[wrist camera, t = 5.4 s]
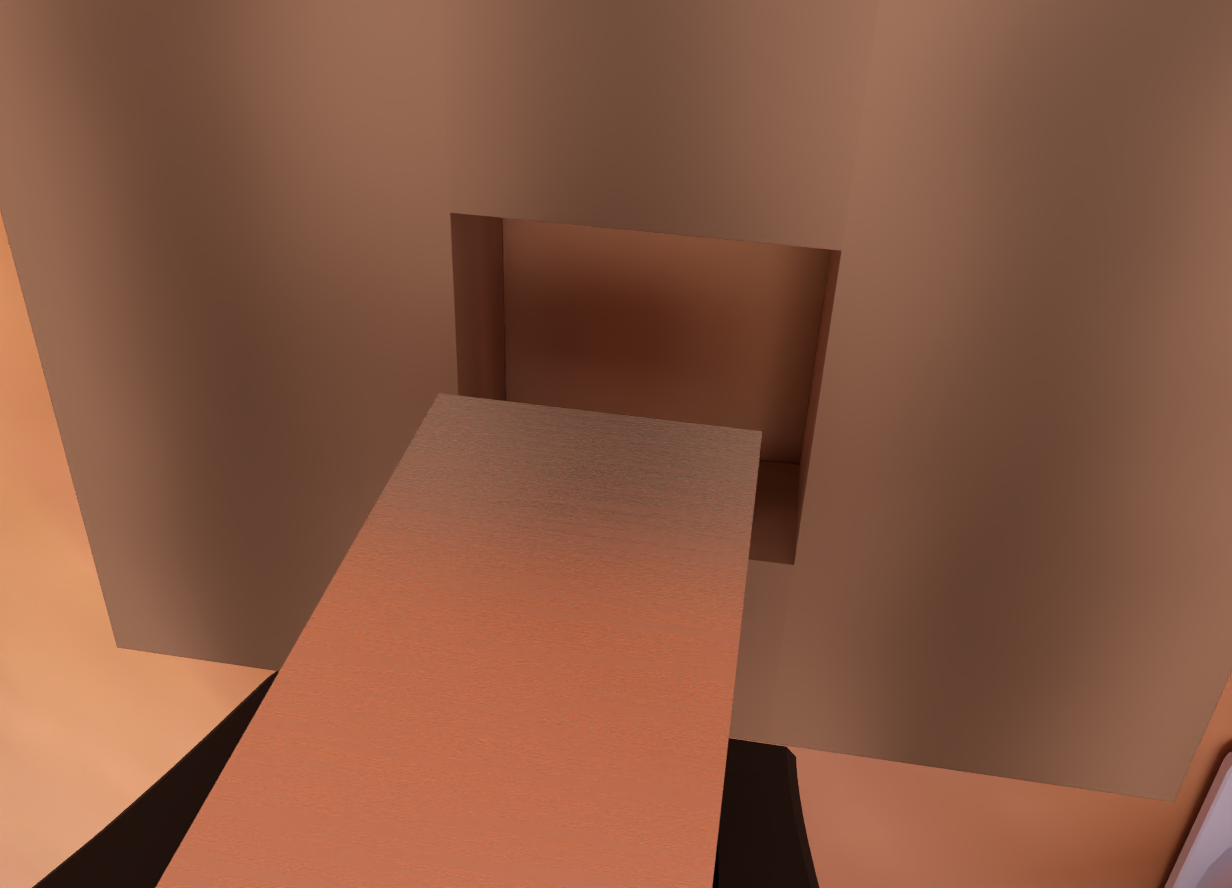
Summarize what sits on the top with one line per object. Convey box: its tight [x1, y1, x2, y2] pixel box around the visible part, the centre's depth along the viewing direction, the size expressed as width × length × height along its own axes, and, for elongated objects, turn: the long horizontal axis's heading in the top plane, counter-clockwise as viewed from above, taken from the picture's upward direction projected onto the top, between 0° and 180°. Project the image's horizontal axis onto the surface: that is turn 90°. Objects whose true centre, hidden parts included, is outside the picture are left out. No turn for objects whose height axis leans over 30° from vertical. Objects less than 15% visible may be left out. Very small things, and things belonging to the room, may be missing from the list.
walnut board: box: [0, 0, 1232, 802], centre depth 19 cm, size 20×14×3 cm
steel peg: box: [156, 393, 762, 888], centre depth 12 cm, size 4×4×8 cm
